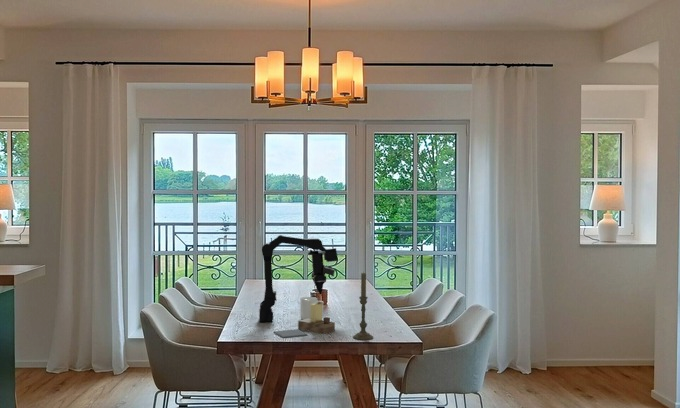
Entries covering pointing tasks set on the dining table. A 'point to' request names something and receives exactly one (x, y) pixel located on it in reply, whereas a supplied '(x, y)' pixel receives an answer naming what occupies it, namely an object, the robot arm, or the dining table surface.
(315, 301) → the mug
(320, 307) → the tan wood-grain block
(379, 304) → the dining table surface
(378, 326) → the dining table surface
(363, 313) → the candlestick holder
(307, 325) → the body
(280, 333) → the rubber mat
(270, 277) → the robot arm
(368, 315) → the dining table surface
